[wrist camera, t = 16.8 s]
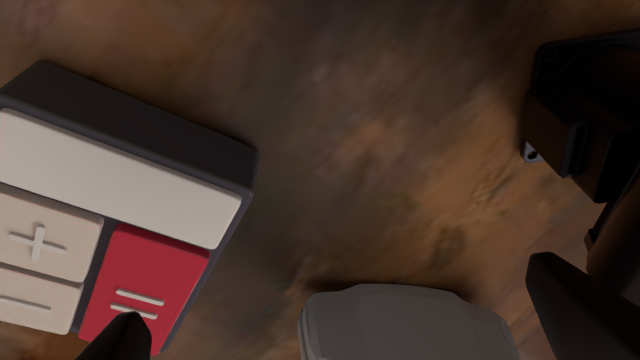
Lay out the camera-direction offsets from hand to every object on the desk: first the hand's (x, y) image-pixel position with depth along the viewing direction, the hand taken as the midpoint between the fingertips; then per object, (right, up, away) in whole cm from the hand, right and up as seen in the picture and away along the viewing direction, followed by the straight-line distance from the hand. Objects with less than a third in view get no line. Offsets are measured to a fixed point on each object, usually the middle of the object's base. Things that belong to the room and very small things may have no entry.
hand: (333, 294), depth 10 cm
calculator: (-12, +1, +15) cm, 19 cm away
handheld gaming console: (+5, -6, +20) cm, 22 cm away
